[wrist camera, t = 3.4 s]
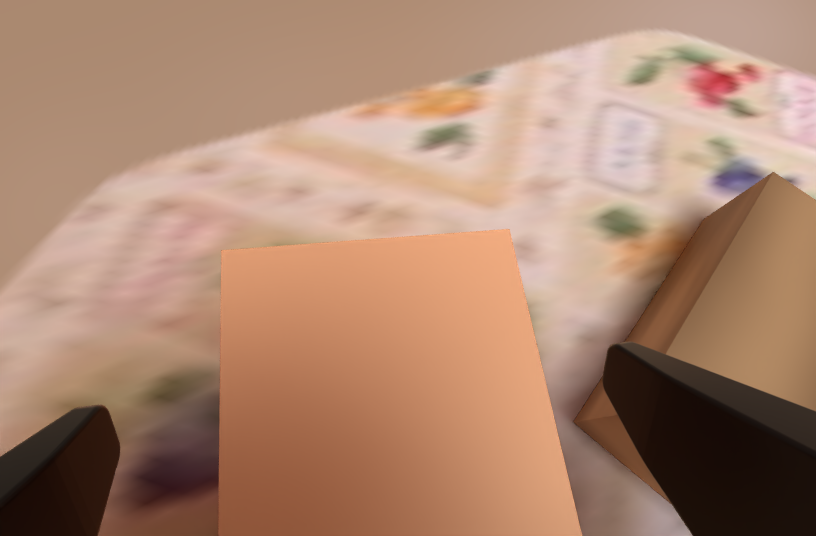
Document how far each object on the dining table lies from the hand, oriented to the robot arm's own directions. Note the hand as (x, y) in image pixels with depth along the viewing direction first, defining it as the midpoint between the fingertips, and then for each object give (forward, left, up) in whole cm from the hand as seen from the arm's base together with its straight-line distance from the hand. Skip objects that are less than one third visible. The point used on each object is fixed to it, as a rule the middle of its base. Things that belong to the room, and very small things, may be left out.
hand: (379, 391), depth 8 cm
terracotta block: (0, 0, -8) cm, 8 cm away
